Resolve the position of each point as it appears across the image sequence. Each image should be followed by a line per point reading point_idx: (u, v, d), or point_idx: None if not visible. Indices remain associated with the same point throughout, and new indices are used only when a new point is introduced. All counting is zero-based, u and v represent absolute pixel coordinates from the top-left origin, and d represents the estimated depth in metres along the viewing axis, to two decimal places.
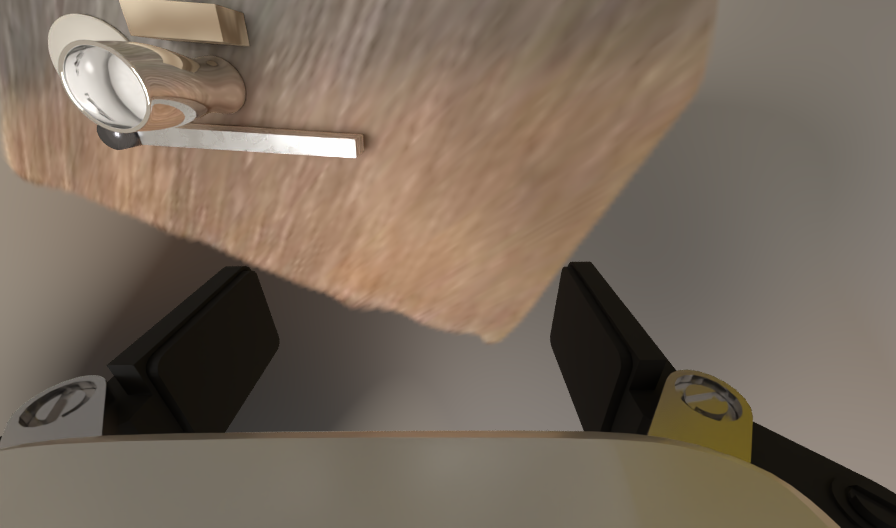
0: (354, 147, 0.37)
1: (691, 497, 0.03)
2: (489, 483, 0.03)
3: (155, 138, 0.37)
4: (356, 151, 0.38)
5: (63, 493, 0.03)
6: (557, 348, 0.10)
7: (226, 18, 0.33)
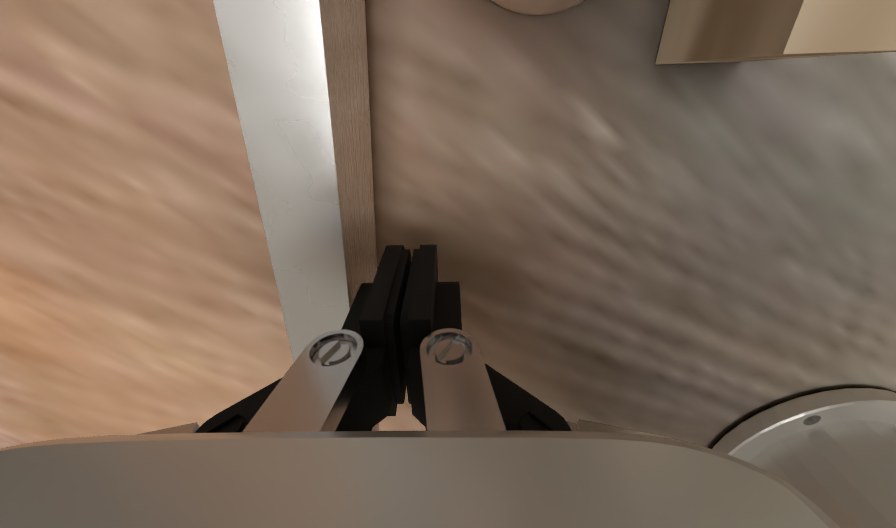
0: None
1: (691, 497, 0.03)
2: (488, 484, 0.03)
3: None
4: None
5: (62, 493, 0.03)
6: None
7: (817, 55, 0.08)
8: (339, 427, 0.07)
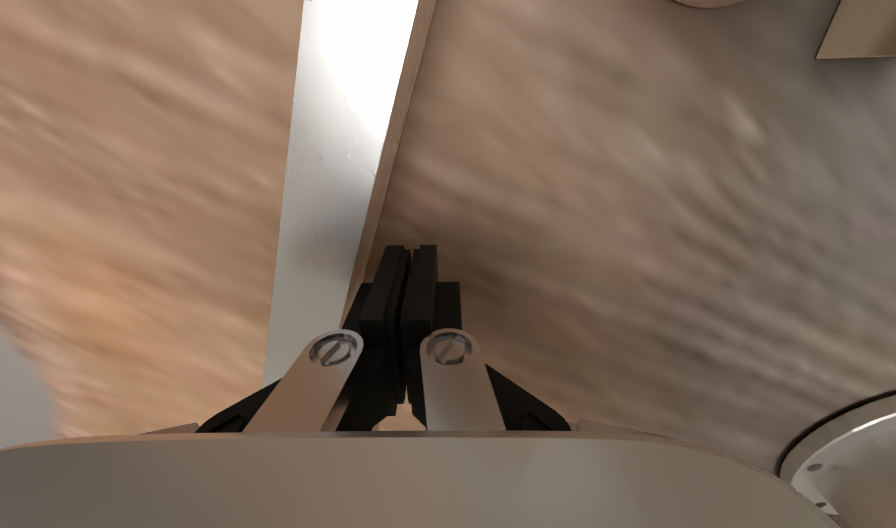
0: None
1: (691, 497, 0.03)
2: (488, 483, 0.03)
3: None
4: None
5: (63, 493, 0.03)
6: None
7: None
8: (339, 427, 0.07)
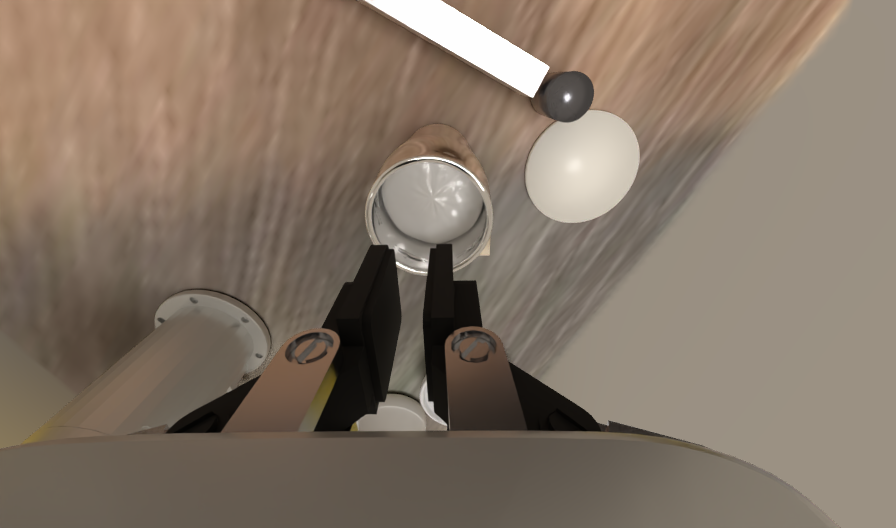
0: None
1: (691, 497, 0.03)
2: (488, 483, 0.03)
3: (520, 65, 0.22)
4: None
5: (63, 493, 0.03)
6: None
7: None
8: (319, 424, 0.07)
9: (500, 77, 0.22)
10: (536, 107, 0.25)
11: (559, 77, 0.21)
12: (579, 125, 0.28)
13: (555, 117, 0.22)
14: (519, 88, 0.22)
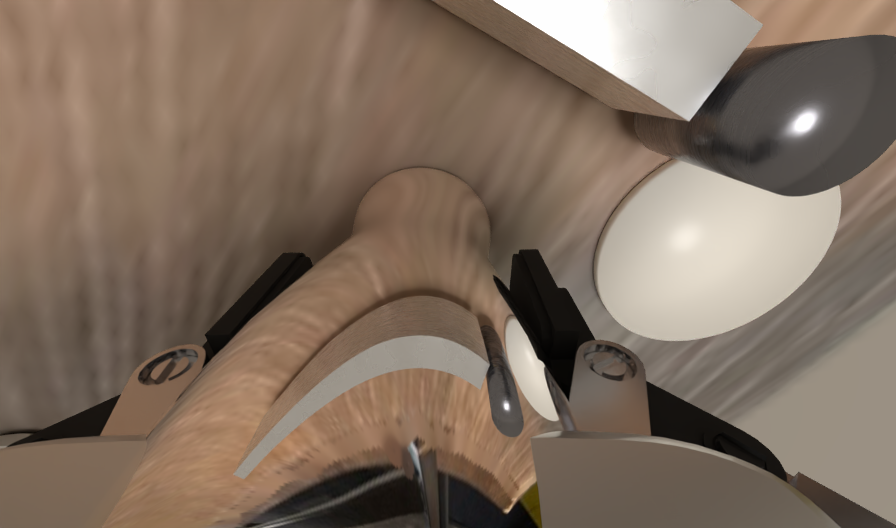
0: None
1: (691, 497, 0.03)
2: None
3: (670, 19, 0.07)
4: None
5: (63, 493, 0.03)
6: None
7: None
8: None
9: (600, 61, 0.07)
10: (657, 139, 0.10)
11: (816, 57, 0.06)
12: None
13: (765, 182, 0.07)
14: (654, 94, 0.07)
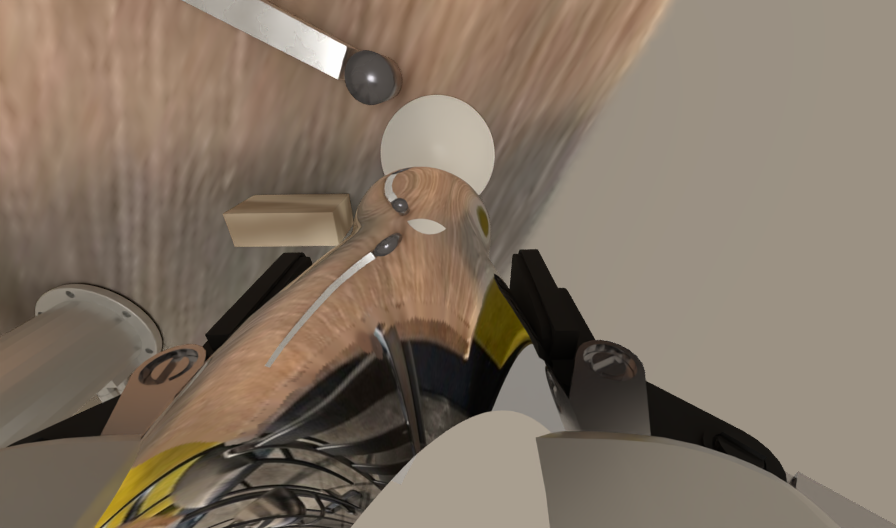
0: None
1: (691, 497, 0.03)
2: None
3: (316, 45, 0.21)
4: None
5: (63, 493, 0.03)
6: None
7: None
8: None
9: (299, 58, 0.21)
10: None
11: (351, 57, 0.20)
12: (424, 111, 0.27)
13: (358, 99, 0.21)
14: (321, 69, 0.21)
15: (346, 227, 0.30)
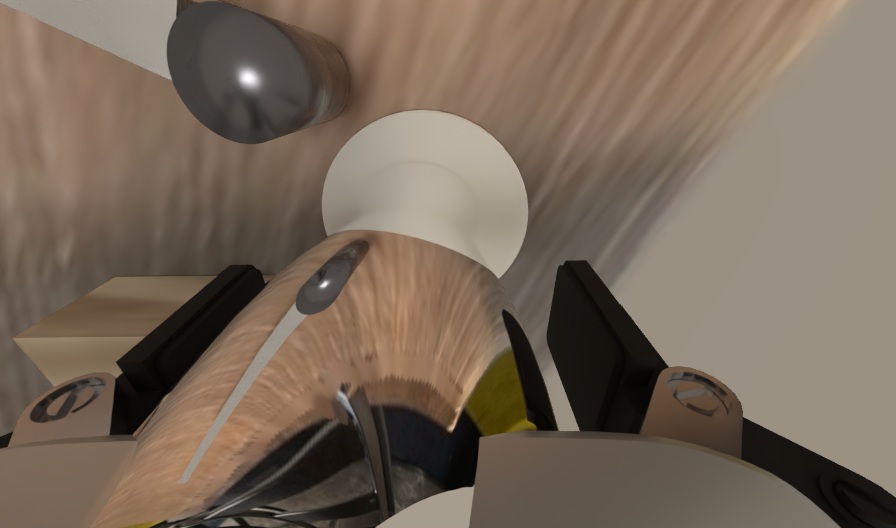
0: None
1: (691, 497, 0.03)
2: (488, 483, 0.03)
3: None
4: None
5: (63, 493, 0.03)
6: (553, 346, 0.10)
7: None
8: None
9: (63, 27, 0.08)
10: None
11: (178, 20, 0.07)
12: (399, 140, 0.14)
13: (218, 131, 0.09)
14: (127, 57, 0.09)
15: None
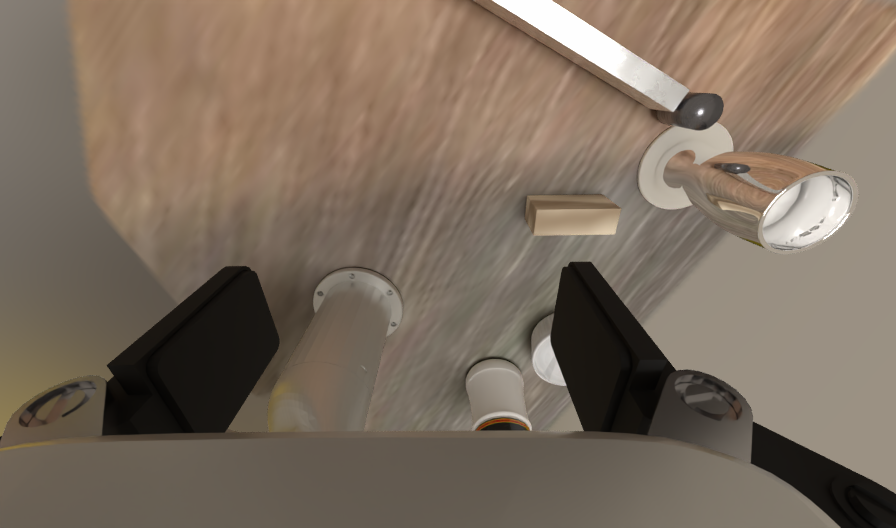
0: None
1: (691, 497, 0.03)
2: (488, 483, 0.03)
3: (668, 88, 0.29)
4: None
5: (63, 493, 0.03)
6: (557, 348, 0.10)
7: (531, 222, 0.38)
8: None
9: (651, 97, 0.30)
10: (664, 118, 0.33)
11: (699, 98, 0.29)
12: (688, 131, 0.36)
13: (691, 126, 0.30)
14: (664, 105, 0.30)
15: None
